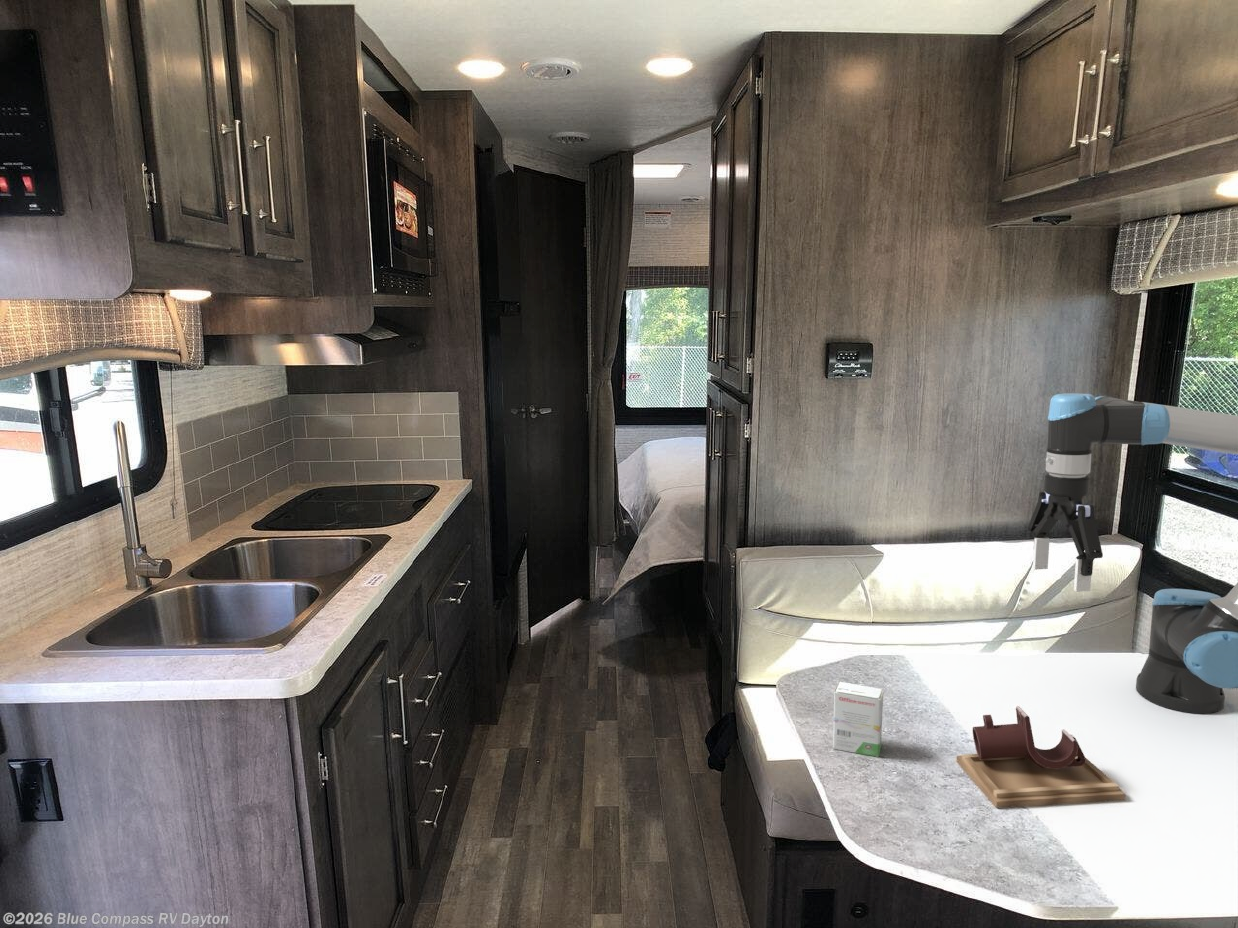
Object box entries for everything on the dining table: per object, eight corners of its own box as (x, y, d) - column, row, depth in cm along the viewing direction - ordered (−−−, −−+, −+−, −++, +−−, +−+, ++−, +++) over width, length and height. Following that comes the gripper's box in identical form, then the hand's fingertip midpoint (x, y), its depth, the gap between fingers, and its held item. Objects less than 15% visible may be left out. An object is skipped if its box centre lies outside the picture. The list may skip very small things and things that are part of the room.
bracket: (1091, 770, 133) (1080, 711, 133) (985, 776, 137) (975, 719, 137) (1079, 758, 139) (1069, 701, 139) (978, 764, 143) (968, 710, 143)
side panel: (1072, 754, 144) (1073, 744, 143) (1124, 800, 130) (1125, 789, 130) (956, 761, 143) (956, 751, 142) (996, 808, 129) (996, 797, 129)
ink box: (832, 749, 149) (833, 691, 147) (836, 735, 153) (837, 680, 151) (879, 758, 145) (880, 699, 143) (882, 744, 150) (884, 687, 148)
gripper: (1012, 463, 162) (1007, 561, 166) (1089, 488, 137) (1081, 602, 141) (1048, 462, 162) (1041, 559, 166) (1130, 486, 138) (1121, 599, 141)
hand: (1060, 579), depth 154 cm, fingers open, 13 cm apart
